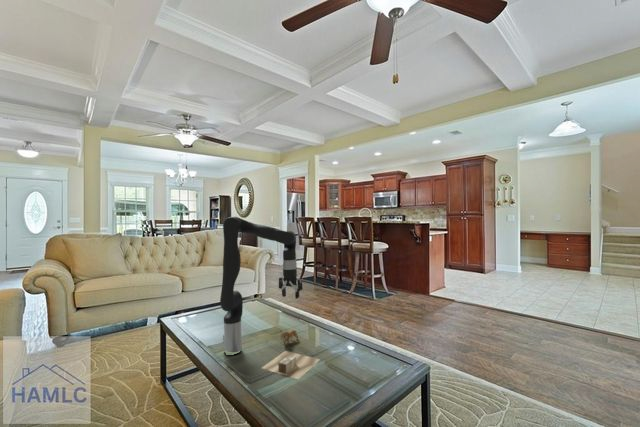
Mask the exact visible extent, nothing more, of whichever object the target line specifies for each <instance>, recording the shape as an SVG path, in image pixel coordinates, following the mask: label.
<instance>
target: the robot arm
mask: <svg viewBox="0 0 640 427" xmlns="http://www.w3.org/2000/svg"><path fill="white" fill-rule="evenodd" d="M222 229H223V256H222V257H223V258H222V260H223V261H222V283H221V291H220V299H219V303H220V304H219V305H220V308H221V309H222V310H223V311H224V312H226V314H225V315H224V317H223V329H224V330H223V335H222V340H223V341H222V344H223V348H224V349H225V350H226V351H228V352H238V351H241V350H242V351H243V340H242V339H243V337H242V336H243V335H242V316H243V308H244V306H243V304H244V302H243V296H242V294H241V292H239V291H238V290H234V289H235V284H236V281H237V278H238V276H239V274H240V271H241V263H242V262H241V261H242V260H241V258H242V257H241V252H240V249H239V244H238V239H239V233H243V234H244V233H245V234H250V235H253V236H256V237H258V238H260V239H264V240H265V239H266V240H269V241H273V242H276V243H280V244H283V251H282V276H281V277H278V289H280V290H281V296H282V297H283V298H285V297H286V296H287V289H286V288H287V287H290V288H293V290H294V291H295V294H294V297H295V299H297V300H298V299H299V298H300V291H302V290H303V289H304V288H303V280H302V279H303V278H302V279H301V278H299V279H298V278H297V276H298V270H297V266H298V265H297V252H296V246H297V235H296V234H295V232H293V231H291V230H288V231H285V230H281V229H279V228H276V227H272V226H267V225H263V224H258V223H254V222H250V221H248V220H245V219H243V218H241V217H238V216H229V217H226V219H225V220H224V221H223V223H222Z"/></svg>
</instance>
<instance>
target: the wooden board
mask: <svg viewBox="0 0 640 427" xmlns="http://www.w3.org/2000/svg"><path fill="white" fill-rule="evenodd" d="M289 355H292V356H296V365H295V366H294V367H293V368H291V369H290V370H289V371H288V372H286V373H282V372H279V369H278V363H279V362H280V361H282V360H283V359H285V358H286V357H287V356H289ZM320 361H321V359H319V358H315V357H313V356H309V355H308V356H307V355H304V354H301V353H300V354H299V353H297V352H291V351H288V350H284V351H283V352H281V353H280V354H279V355H277V356H276V357H275V358H273V359H272V360H271V361H269V362H268V363H266V364H265V365H263V366H262V367H261V369H263V370H265V371H269V372H272V373H276V374H279V375H282V376H286V377H289V378H292V379H295V380H300V379H301V378H302V377H303V376H304V375H306V374H307V373H308V371H310V370H311V369H312V368H313V367H314V366H315V365H316V364H318V363H319V362H320Z"/></svg>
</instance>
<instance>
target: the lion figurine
mask: <svg viewBox="0 0 640 427" xmlns="http://www.w3.org/2000/svg"><path fill="white" fill-rule="evenodd" d="M280 338H281V340H282V341H283V345H286V344H287V346H288V345H290V341H292V340H293V338H296V341H299V336H298V334H297V331H296V330H295V329H291V330H289V331H287V330H283V331H282V332H281V333H280ZM286 342H287V343H286Z"/></svg>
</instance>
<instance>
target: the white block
mask: <svg viewBox="0 0 640 427" xmlns="http://www.w3.org/2000/svg"><path fill="white" fill-rule="evenodd" d="M295 365H296V356H292V355H289V356H287V357H286V358H285V359H283V360H282V361H280V362H279V363H278V369H279V372H282V373H286V372H288V371H289V370H290V369H291V368H293V367H294V366H295Z"/></svg>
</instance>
